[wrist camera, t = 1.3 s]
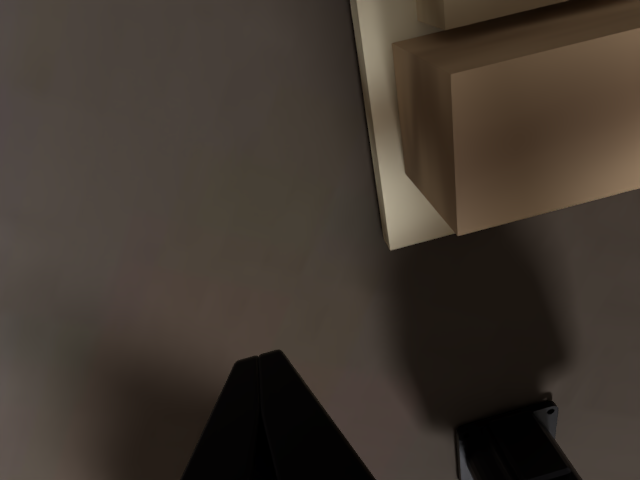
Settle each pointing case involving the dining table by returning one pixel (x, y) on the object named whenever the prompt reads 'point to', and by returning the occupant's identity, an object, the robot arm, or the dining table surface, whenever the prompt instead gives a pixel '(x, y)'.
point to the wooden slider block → (522, 111)
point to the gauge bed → (382, 103)
